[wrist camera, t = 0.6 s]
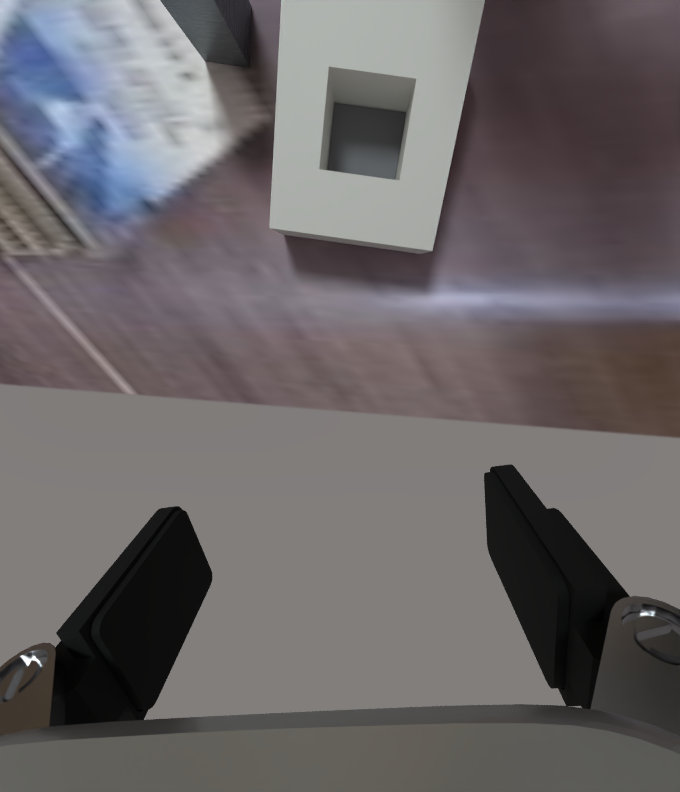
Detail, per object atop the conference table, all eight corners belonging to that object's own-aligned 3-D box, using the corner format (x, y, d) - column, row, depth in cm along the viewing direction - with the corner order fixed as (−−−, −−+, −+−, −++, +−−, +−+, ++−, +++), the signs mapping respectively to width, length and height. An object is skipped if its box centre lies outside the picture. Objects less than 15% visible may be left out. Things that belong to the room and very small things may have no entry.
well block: (297, 29, 29) (282, -30, 23) (460, 52, 29) (485, -1, 23) (283, 234, 34) (269, 227, 29) (420, 254, 34) (432, 250, 29)
